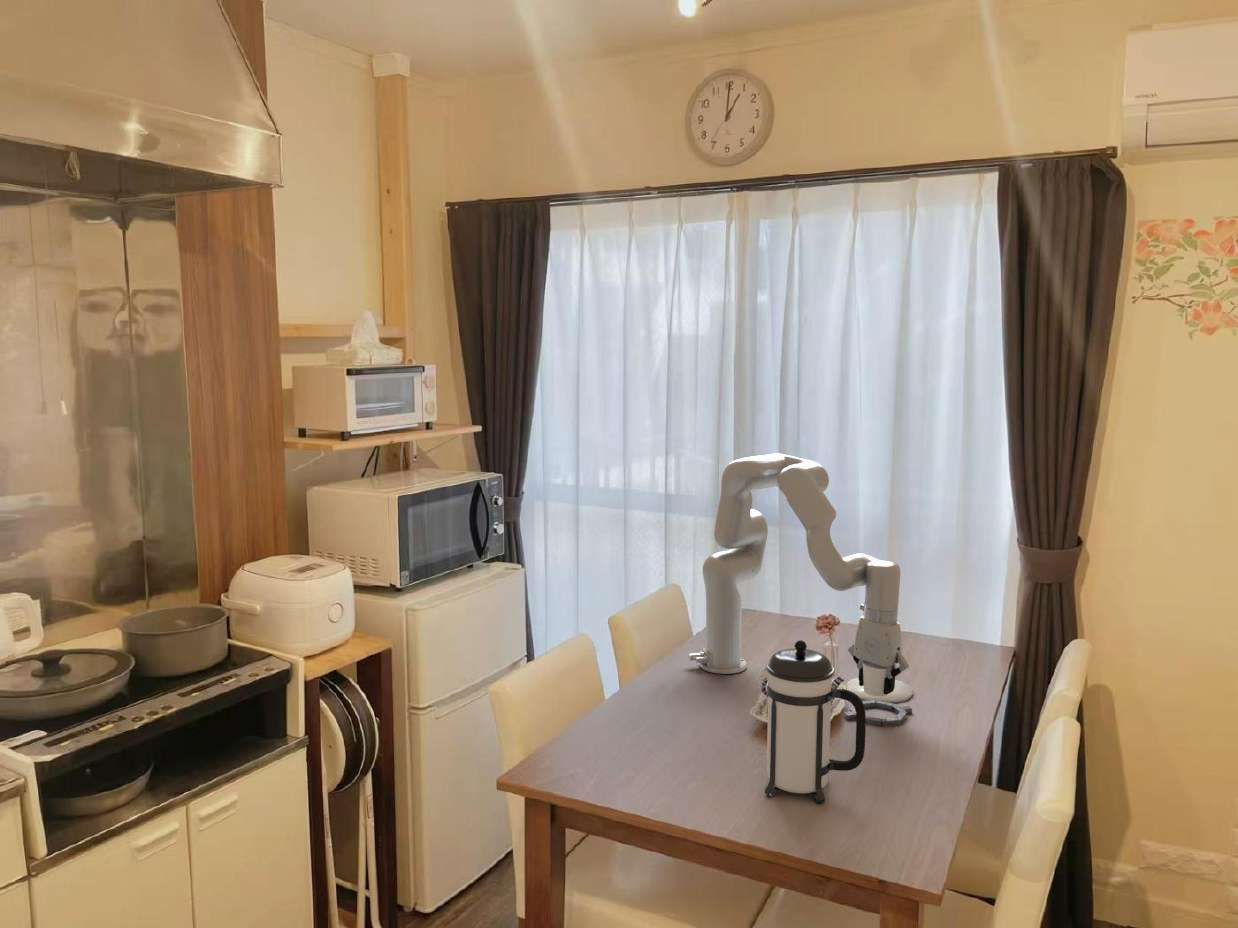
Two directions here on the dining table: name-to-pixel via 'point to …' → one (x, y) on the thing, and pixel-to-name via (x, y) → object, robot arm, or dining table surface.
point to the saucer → (898, 695)
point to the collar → (896, 709)
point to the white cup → (874, 679)
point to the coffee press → (804, 722)
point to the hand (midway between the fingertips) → (876, 687)
